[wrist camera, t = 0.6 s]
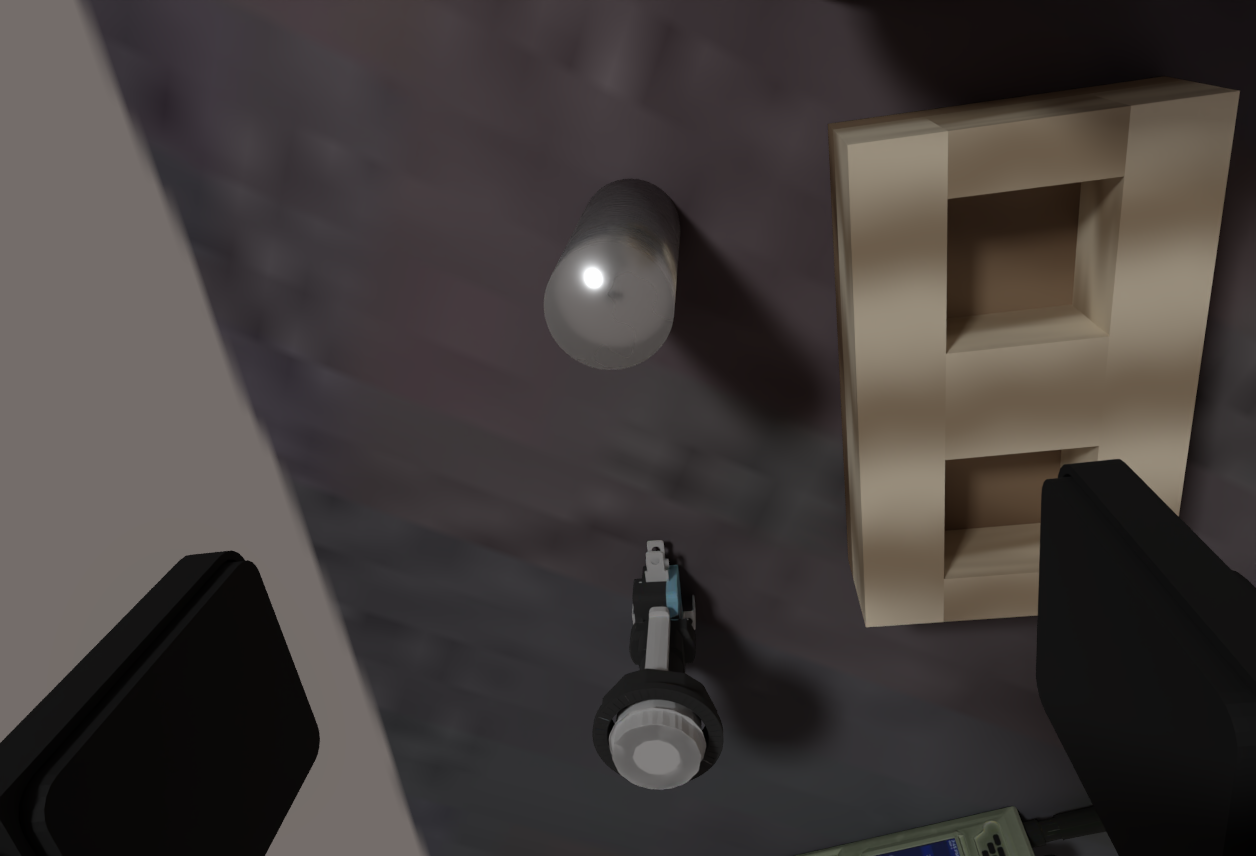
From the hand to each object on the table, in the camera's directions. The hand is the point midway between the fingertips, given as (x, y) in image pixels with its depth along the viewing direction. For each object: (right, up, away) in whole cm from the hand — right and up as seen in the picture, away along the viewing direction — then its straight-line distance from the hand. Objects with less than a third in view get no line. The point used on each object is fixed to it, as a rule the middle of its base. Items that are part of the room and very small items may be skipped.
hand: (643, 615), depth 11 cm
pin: (0, +10, +25) cm, 27 cm away
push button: (+2, -6, +34) cm, 34 cm away
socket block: (+15, +5, +27) cm, 31 cm away
